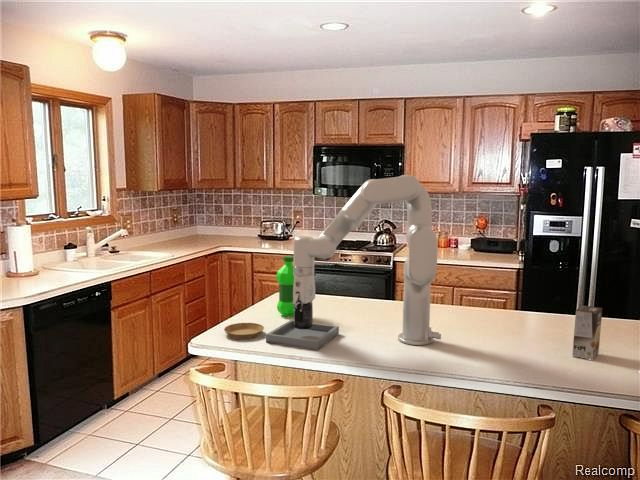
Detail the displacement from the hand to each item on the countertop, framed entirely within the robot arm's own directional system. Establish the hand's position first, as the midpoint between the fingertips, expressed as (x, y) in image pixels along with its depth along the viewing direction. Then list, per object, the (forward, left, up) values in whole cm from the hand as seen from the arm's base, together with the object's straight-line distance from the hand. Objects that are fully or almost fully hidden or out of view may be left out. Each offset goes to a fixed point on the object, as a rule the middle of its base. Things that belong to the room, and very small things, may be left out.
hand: (303, 318), depth 191 cm
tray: (0, 0, -7) cm, 7 cm away
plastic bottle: (+19, -26, -8) cm, 33 cm away
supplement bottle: (0, 0, -3) cm, 3 cm away
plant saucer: (+22, +5, -8) cm, 24 cm away
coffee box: (-94, -23, -8) cm, 97 cm away
